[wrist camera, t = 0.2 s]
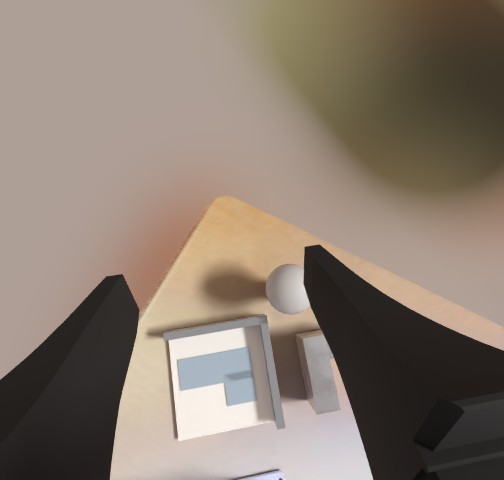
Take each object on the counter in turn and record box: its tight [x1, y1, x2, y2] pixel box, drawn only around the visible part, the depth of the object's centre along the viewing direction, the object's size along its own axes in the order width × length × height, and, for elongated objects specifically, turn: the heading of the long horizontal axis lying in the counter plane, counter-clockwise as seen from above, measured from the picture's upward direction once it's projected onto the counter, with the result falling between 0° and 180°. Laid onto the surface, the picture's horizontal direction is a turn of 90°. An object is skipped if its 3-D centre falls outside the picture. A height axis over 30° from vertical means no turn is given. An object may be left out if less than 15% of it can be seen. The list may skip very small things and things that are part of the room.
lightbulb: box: [266, 264, 310, 314], centre depth 37 cm, size 6×6×11 cm
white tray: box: [163, 315, 285, 441], centre depth 38 cm, size 14×14×3 cm
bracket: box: [295, 329, 340, 414], centre depth 38 cm, size 9×6×5 cm, turn 9°
